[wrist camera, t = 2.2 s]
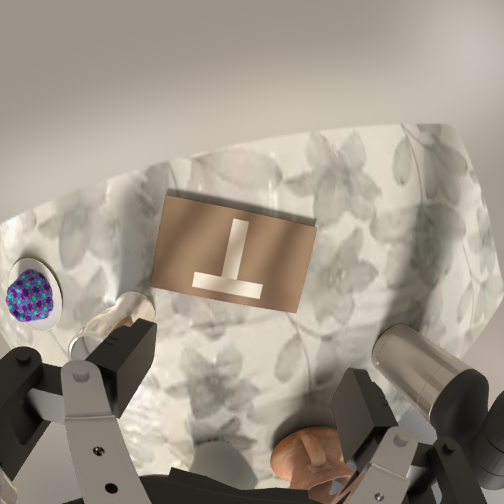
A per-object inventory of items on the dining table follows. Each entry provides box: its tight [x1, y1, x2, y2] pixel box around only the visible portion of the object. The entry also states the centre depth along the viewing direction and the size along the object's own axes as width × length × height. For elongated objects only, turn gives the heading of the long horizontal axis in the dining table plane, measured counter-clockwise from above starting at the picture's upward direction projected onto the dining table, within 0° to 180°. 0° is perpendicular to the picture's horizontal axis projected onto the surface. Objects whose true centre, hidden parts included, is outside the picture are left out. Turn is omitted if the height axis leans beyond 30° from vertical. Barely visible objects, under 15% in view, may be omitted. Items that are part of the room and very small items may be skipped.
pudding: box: [6, 258, 62, 331], centre depth 33 cm, size 12×12×5 cm
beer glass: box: [68, 291, 155, 361], centre depth 30 cm, size 7×7×15 cm
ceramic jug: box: [270, 426, 354, 504], centre depth 38 cm, size 18×14×14 cm
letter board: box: [150, 195, 317, 313], centre depth 37 cm, size 20×12×1 cm, turn 78°
